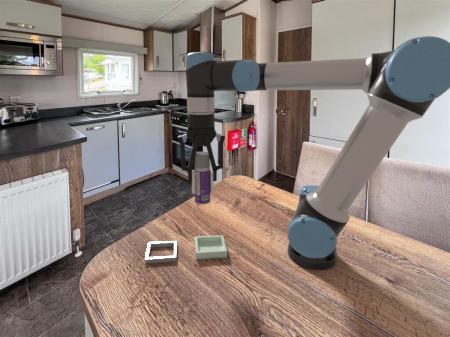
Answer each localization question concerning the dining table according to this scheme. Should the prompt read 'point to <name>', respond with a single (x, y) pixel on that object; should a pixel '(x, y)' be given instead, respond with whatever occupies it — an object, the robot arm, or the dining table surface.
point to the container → (202, 178)
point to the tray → (210, 247)
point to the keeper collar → (164, 258)
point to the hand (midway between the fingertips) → (202, 191)
